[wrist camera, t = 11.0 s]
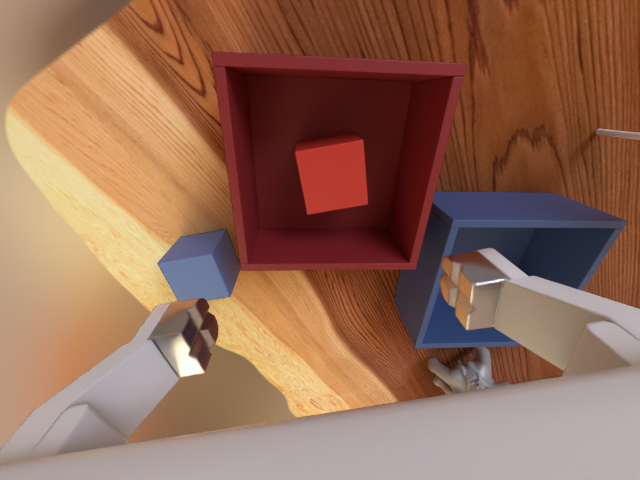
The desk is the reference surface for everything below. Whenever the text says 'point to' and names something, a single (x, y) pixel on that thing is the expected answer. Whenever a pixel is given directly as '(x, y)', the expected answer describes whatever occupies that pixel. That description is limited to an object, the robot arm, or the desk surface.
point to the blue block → (201, 266)
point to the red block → (332, 172)
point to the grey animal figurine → (465, 374)
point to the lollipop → (618, 134)
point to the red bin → (325, 120)
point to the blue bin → (511, 242)
